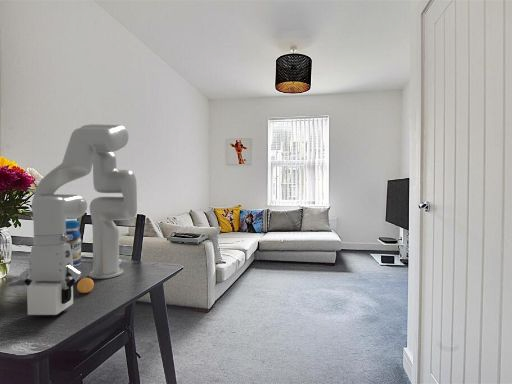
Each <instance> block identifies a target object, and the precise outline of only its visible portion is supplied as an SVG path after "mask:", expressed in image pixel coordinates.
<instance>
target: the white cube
mask: <svg viewBox="0 0 512 384" xmlns="http://www.w3.org/2000/svg"><path fill="white" fill-rule="evenodd" d="M69 278H70V279H72V278H73V276H71V277H69ZM66 283H67V281H66ZM26 286H27V285H26ZM63 289H64V288H63V287H62V283H60V282H59V281H38V282H37V283H33V284H31V285H29V286H27V287H26V291H27V292H26V293H27V294H26V295H27V297H26V299H27V316H51V315H52V316H56V315H58V314H60V313H62V311H64V310H66V309H68V308H69V307H70V306H72V305H73V304H74V285H73V286H72V287H71V300H70V301H68V302H67V303H65V304H62V290H63Z"/></svg>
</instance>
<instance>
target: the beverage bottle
mask: <svg viewBox="0 0 512 384" xmlns="http://www.w3.org/2000/svg"><path fill="white" fill-rule="evenodd" d="M79 228H80V221H79V220H77V219H70V220H66V236H70V240H69V241H67V242H66V243H68V244H69V245H70V248H71V253H72V259H73V267H74V268H75V267H78V266H80V265H81V264H82V239H81V238H82V237H81V235H82V234H81V232H80V231H79Z"/></svg>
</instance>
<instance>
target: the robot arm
mask: <svg viewBox="0 0 512 384" xmlns="http://www.w3.org/2000/svg"><path fill="white" fill-rule="evenodd" d="M128 141H129V132H128V130H127V128H126V127H125V126H124V125H121V124H100V123H99V124H97V123H95V124H93V123H92V124H85V125H82V126H80V127H79V128H76V129H74V130H73V131H72V132H71V135H70V138H69V140H68V144H67V146H66V149H65V153H64V156H63V159H62V161H61V163H60V164H59V165H57V166H55V168H53V169H51V171H49V172H48V173H47V174H46V175H44V177H42V179H41V180H40V181H39V182H38V184H37V186H36V188H35V191H34V195H33V196H32V201H31V213H32V214H33V218H32V219H33V245H32V246H31V250H30V253H29V262H28V268H26V269H25V270H24V271H23V272H21V273H20V274H19V276H20V278H21V279H22V280H23V282H24V284H25V285H26V286H29V285H31V284H33V283H37V282H38V281H59V282H60V283H62V287H63V288H64V289H63V290H62V304H65V303H67V302H68V301H70V300H71V287H72V286H73V287H74V285H75V284H76V283H77V282H78V280H79V278H80V277H81V276H82V272H81V271H79V270H78V269H76V268H75V266H74V267H73V259H72V253H71V248H70V245H69V244H68V243H66V242H67V241H69V240H70V236H66V221H67V220H78V219H80V218H81V217H83V216H84V215H85V214H86V212H87V210H88V203H87V201H86V199H85V198H84V197H83V196H82V195H78V194H58V193H57V194H56V191H58V190H59V189H60V188H61V187H63V186H65V185H66V184H68V183H71V182H73V181H75V180H79V179H80V178H83V177H86V176H87V175H89V174H90V173H91V172H92V177H93V178H92V180H93V189H94V190H95V192H97V193H100V194H122V196H98V197H95V198H93V199H92V200H91V201H90V203H89V214H90V218H91V225H92V270H91V271H90V272H89V273H88V278H90V279H111V278H115V277H118V276H121V275H122V274H123V273H124V268H122V267H120V264H122V263H123V262H122V261H123V260H122V259H120V231H119V228H118V226H117V224H116V223H115V222H114V221H130V220H134V219H135V218H136V216H137V211H138V199H137V198H138V196H137V194H138V193H137V192H138V191H137V189H138V187H137V177H136V175H135V173H134V171H131V170H130V169H129V170H128V169H118V168H117V157H116V155H115V153H114V152H117V151H119V150H120V149H123V148H124V147H126V146H127V144H128ZM69 277H73V278H72V279H70V278H69ZM66 281H67V283H66Z"/></svg>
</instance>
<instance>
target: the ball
mask: <svg viewBox="0 0 512 384" xmlns="http://www.w3.org/2000/svg"><path fill="white" fill-rule="evenodd" d="M77 282H78V283H77V285H76V289H77V291H78V292H80V293H82V294H87V293H90V292H91V291H92V290H93V289H94V286H95V282H94V280H93V278H90V277H83V278H81V279H80V280H79V281H77Z"/></svg>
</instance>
